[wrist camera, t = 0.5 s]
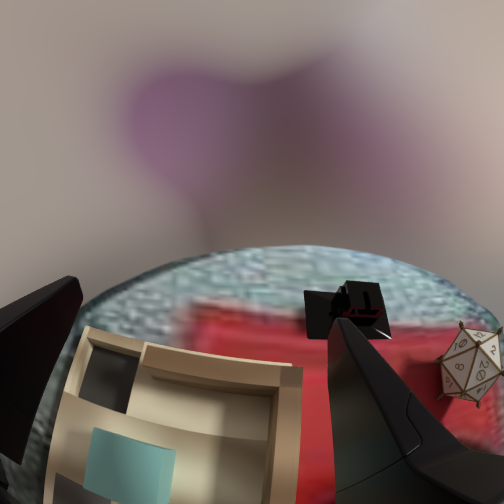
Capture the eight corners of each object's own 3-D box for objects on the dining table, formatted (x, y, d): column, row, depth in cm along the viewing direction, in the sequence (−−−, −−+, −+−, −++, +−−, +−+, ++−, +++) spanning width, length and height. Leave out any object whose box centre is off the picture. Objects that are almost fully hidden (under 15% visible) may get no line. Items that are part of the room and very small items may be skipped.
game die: (437, 401, 23) (497, 426, 13) (400, 382, 22) (472, 413, 12) (468, 334, 24) (531, 343, 14) (437, 304, 23) (513, 308, 14)
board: (265, 581, 8) (269, 591, 6) (53, 525, 8) (41, 527, 6) (286, 371, 22) (291, 363, 20) (94, 335, 22) (85, 325, 20)
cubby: (271, 578, 7) (280, 596, 5) (125, 556, 7) (109, 569, 5) (291, 380, 19) (302, 367, 17) (157, 361, 19) (147, 344, 17)
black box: (290, 348, 24) (302, 325, 21) (289, 285, 29) (298, 256, 26) (402, 347, 25) (426, 326, 21) (389, 292, 29) (407, 267, 26)
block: (169, 502, 12) (154, 514, 8) (109, 484, 12) (82, 487, 8) (176, 450, 15) (164, 449, 11) (118, 434, 15) (93, 426, 11)
